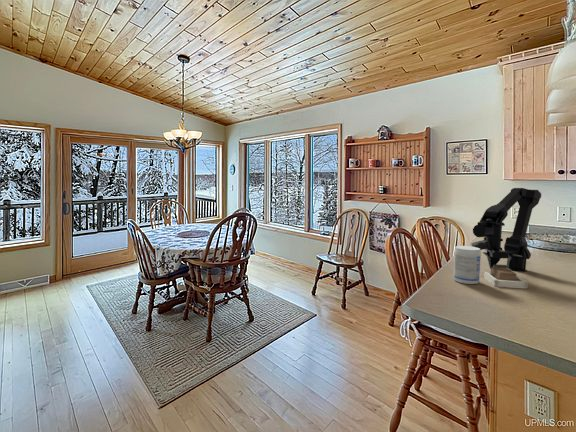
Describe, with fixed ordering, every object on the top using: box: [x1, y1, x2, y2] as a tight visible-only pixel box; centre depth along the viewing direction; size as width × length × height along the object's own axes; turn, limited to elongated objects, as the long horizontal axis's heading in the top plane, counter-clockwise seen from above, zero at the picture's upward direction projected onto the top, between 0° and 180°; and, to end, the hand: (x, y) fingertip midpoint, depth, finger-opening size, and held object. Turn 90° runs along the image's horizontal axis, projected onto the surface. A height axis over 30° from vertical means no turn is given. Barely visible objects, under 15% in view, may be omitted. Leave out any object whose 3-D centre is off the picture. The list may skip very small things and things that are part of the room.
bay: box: [483, 271, 529, 290], centre depth 125 cm, size 12×11×2 cm
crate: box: [489, 264, 517, 281], centre depth 126 cm, size 9×6×7 cm, turn 165°
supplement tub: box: [453, 245, 481, 285], centre depth 127 cm, size 10×10×15 cm
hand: (491, 268), depth 137 cm, fingers closed
